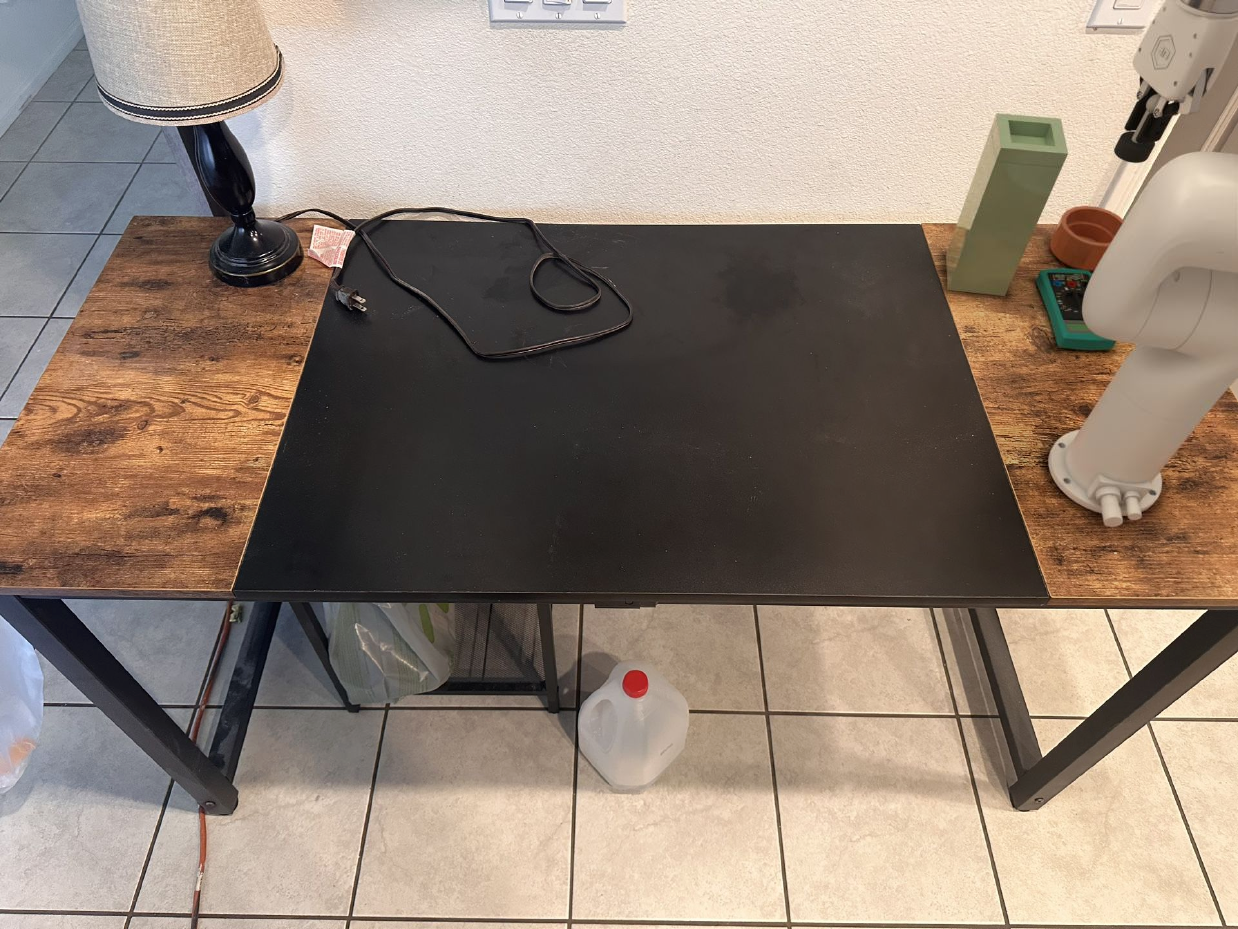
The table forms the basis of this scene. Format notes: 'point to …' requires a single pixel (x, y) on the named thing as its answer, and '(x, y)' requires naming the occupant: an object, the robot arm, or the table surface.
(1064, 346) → the digital multimeter
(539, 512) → the table surface
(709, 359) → the table surface
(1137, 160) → the stopper
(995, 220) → the green tall hollow block
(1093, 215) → the basin bowl
